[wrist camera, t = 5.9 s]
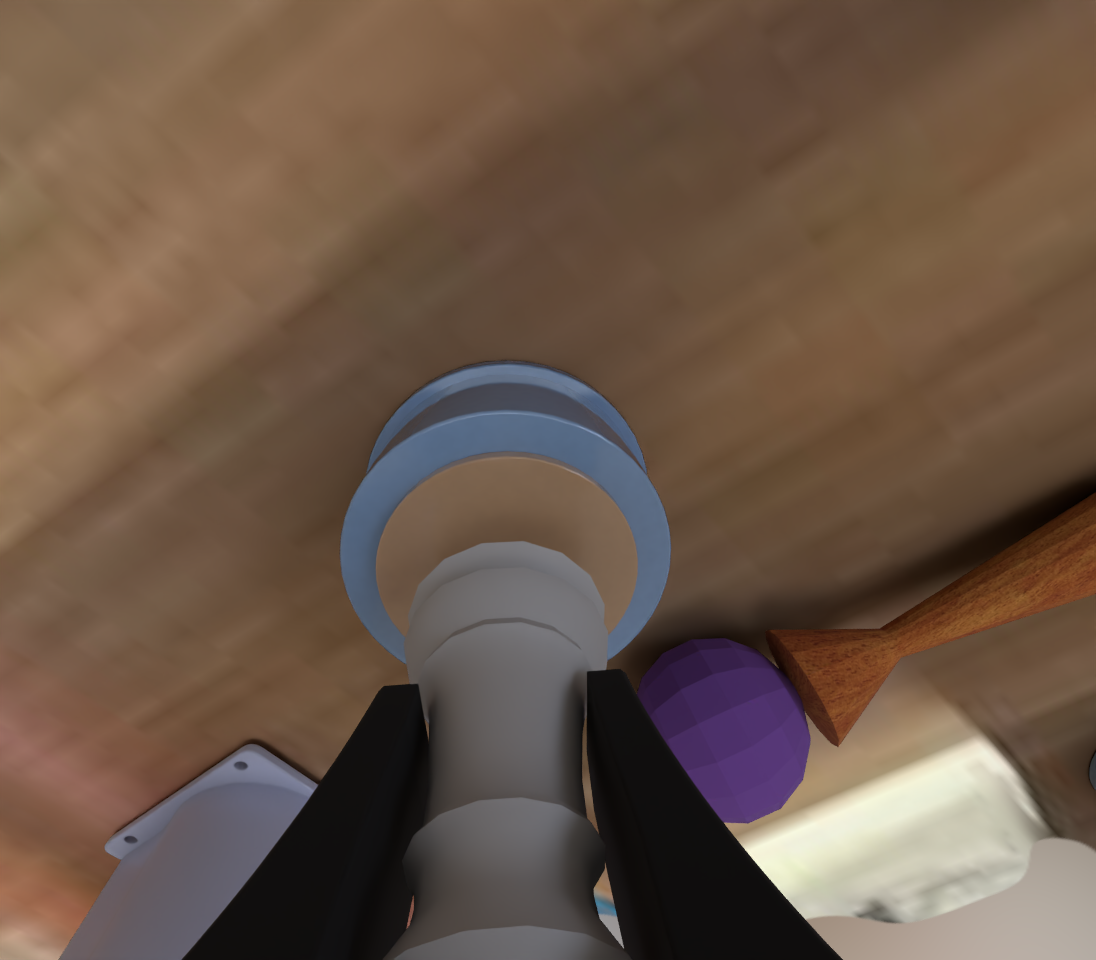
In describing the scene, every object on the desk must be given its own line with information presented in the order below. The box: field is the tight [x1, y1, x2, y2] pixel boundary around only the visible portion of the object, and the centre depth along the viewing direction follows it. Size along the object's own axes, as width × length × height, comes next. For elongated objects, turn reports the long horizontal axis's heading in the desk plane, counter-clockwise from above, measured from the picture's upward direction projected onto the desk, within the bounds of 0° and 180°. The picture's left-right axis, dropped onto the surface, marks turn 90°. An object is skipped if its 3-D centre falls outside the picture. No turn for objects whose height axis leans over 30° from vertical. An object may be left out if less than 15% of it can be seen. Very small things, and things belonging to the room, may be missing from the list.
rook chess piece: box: [383, 541, 632, 960], centre depth 9 cm, size 4×4×8 cm
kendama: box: [637, 492, 1096, 823], centre depth 19 cm, size 6×6×20 cm
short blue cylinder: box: [340, 360, 671, 665], centre depth 16 cm, size 9×9×5 cm
